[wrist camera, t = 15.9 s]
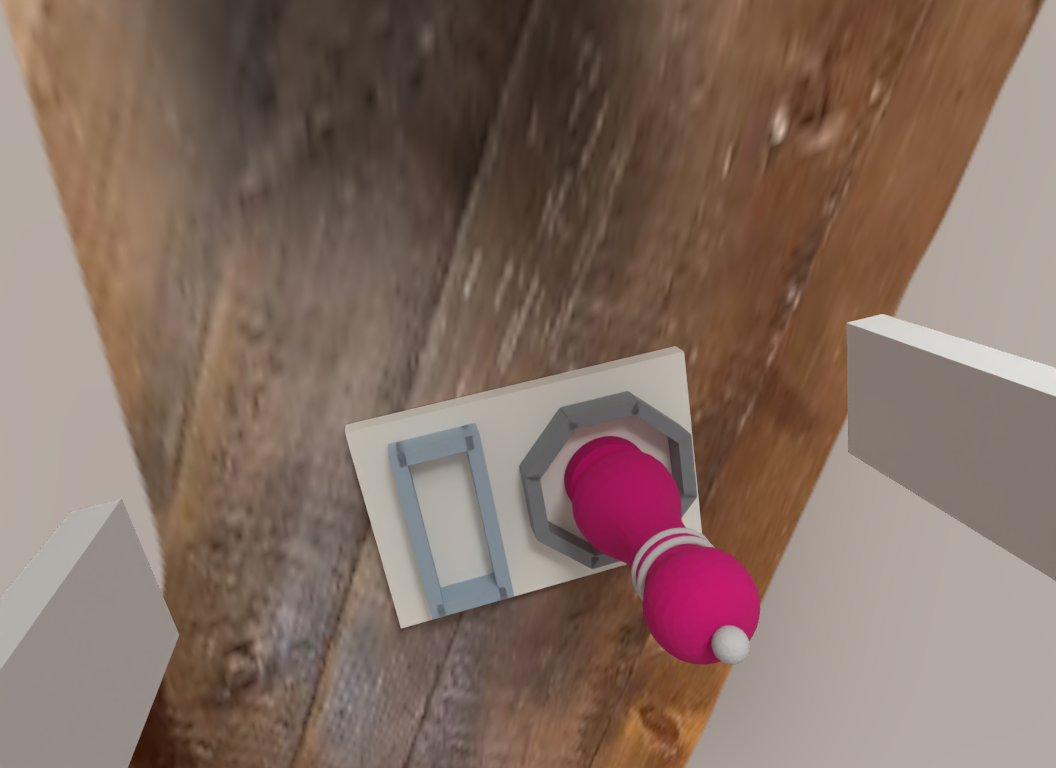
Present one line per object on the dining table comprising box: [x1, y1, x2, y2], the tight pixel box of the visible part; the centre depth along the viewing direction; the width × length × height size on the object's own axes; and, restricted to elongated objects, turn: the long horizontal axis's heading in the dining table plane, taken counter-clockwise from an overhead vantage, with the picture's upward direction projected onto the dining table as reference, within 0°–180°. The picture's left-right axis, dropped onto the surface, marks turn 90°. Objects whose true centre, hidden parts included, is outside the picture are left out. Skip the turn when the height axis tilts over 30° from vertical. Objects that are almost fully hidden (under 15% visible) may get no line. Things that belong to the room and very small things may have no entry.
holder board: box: [345, 346, 702, 628], centre depth 50 cm, size 16×24×4 cm, turn 100°
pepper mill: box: [564, 436, 760, 665], centre depth 42 cm, size 7×7×20 cm
